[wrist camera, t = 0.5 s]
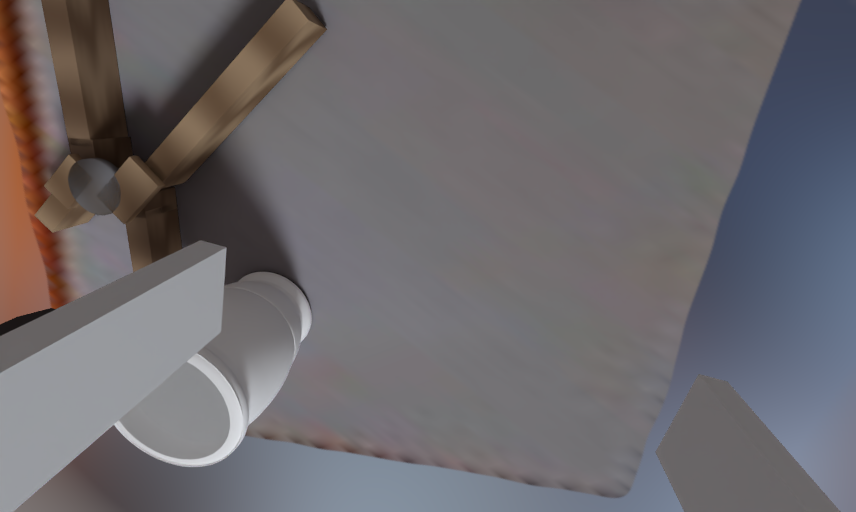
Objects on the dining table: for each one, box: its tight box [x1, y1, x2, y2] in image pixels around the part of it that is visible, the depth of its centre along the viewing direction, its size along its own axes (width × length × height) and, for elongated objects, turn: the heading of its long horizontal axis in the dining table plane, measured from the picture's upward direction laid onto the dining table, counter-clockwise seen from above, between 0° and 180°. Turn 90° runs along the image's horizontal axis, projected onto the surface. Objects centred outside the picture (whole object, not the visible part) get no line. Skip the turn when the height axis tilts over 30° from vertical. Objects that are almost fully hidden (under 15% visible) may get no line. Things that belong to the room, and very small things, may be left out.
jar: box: [114, 272, 312, 467], centre depth 36 cm, size 11×10×15 cm
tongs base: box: [41, 0, 182, 272], centre depth 36 cm, size 30×6×4 cm, turn 175°
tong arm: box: [35, 0, 327, 232], centre depth 35 cm, size 30×6×5 cm, turn 130°
